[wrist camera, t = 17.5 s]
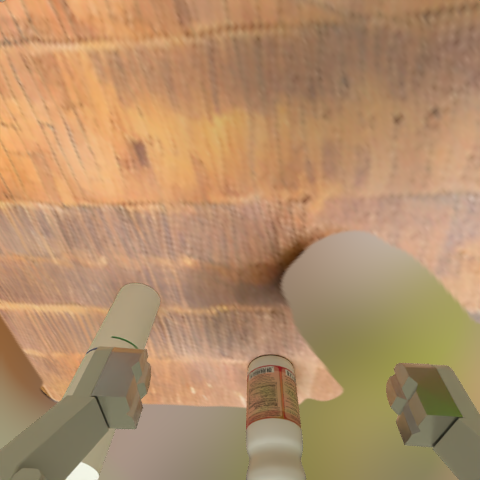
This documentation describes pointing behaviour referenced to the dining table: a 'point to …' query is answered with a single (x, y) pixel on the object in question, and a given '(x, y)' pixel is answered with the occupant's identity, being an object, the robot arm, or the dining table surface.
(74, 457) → the robot arm
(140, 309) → the cylindrical container
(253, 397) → the fruit juice
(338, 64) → the dining table surface
